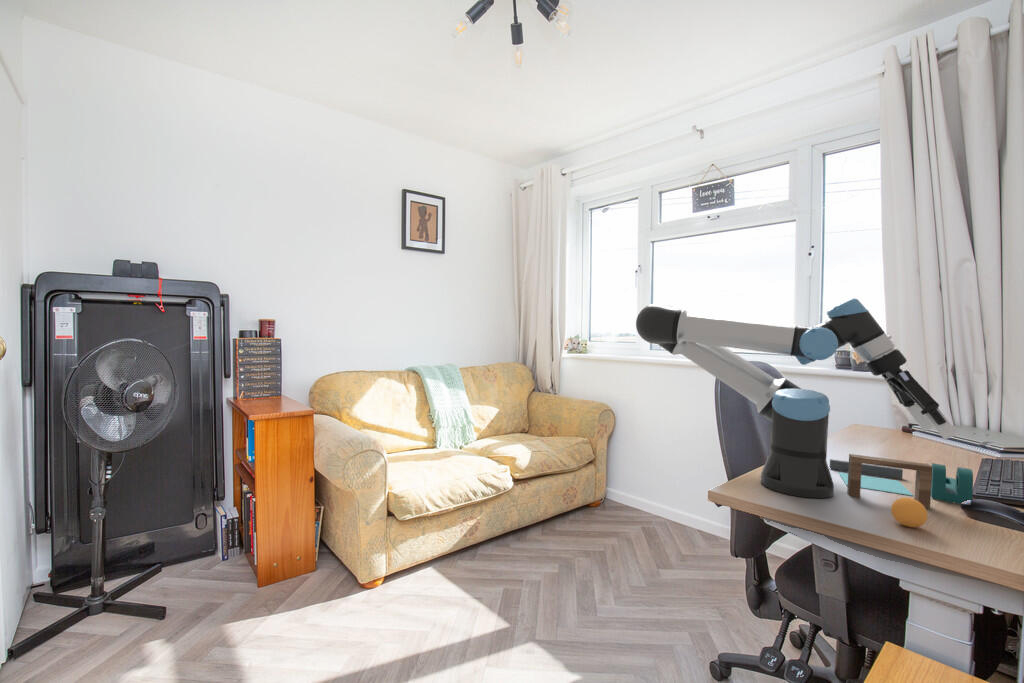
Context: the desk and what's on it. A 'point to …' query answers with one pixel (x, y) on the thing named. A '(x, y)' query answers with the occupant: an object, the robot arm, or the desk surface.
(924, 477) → the bridge
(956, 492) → the bracket
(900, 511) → the ball
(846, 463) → the wall
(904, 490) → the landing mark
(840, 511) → the desk surface
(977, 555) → the desk surface
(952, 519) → the desk surface
